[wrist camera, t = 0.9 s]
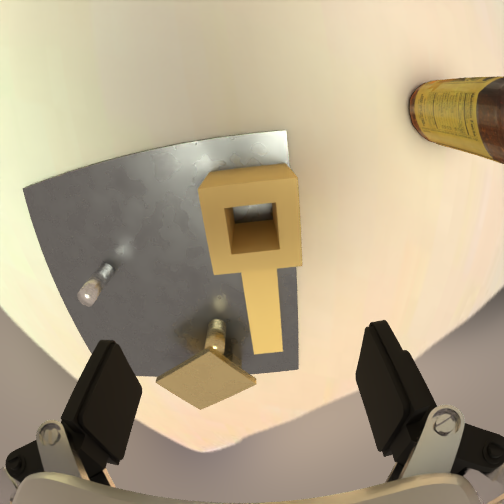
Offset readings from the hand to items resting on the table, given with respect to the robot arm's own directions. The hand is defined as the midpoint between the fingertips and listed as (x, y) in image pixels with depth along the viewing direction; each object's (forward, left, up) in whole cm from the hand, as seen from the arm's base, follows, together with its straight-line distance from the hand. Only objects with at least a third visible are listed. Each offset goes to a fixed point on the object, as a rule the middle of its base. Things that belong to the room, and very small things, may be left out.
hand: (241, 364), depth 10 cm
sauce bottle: (-9, +19, -18) cm, 27 cm away
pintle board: (+8, -10, -17) cm, 21 cm away
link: (+5, +1, -17) cm, 18 cm away
